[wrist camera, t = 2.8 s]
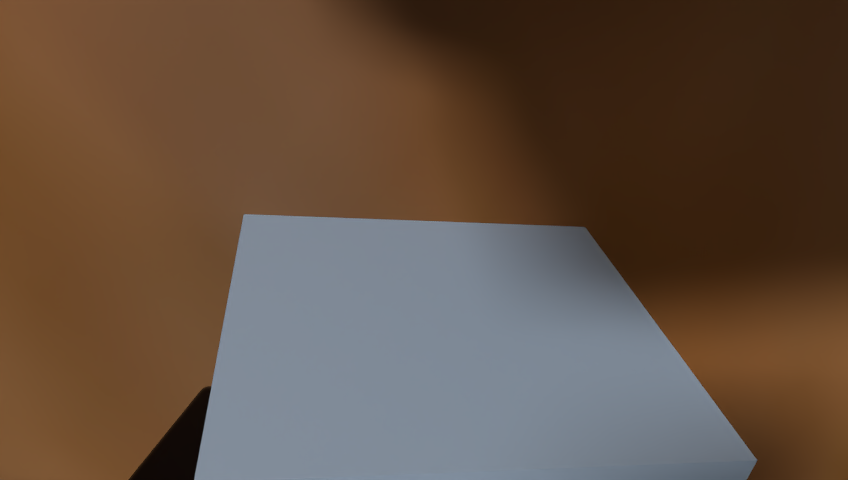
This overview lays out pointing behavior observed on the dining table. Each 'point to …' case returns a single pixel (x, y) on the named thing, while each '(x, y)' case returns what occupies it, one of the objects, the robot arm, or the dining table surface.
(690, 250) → the dining table surface
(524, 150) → the dining table surface
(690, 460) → the blue block
